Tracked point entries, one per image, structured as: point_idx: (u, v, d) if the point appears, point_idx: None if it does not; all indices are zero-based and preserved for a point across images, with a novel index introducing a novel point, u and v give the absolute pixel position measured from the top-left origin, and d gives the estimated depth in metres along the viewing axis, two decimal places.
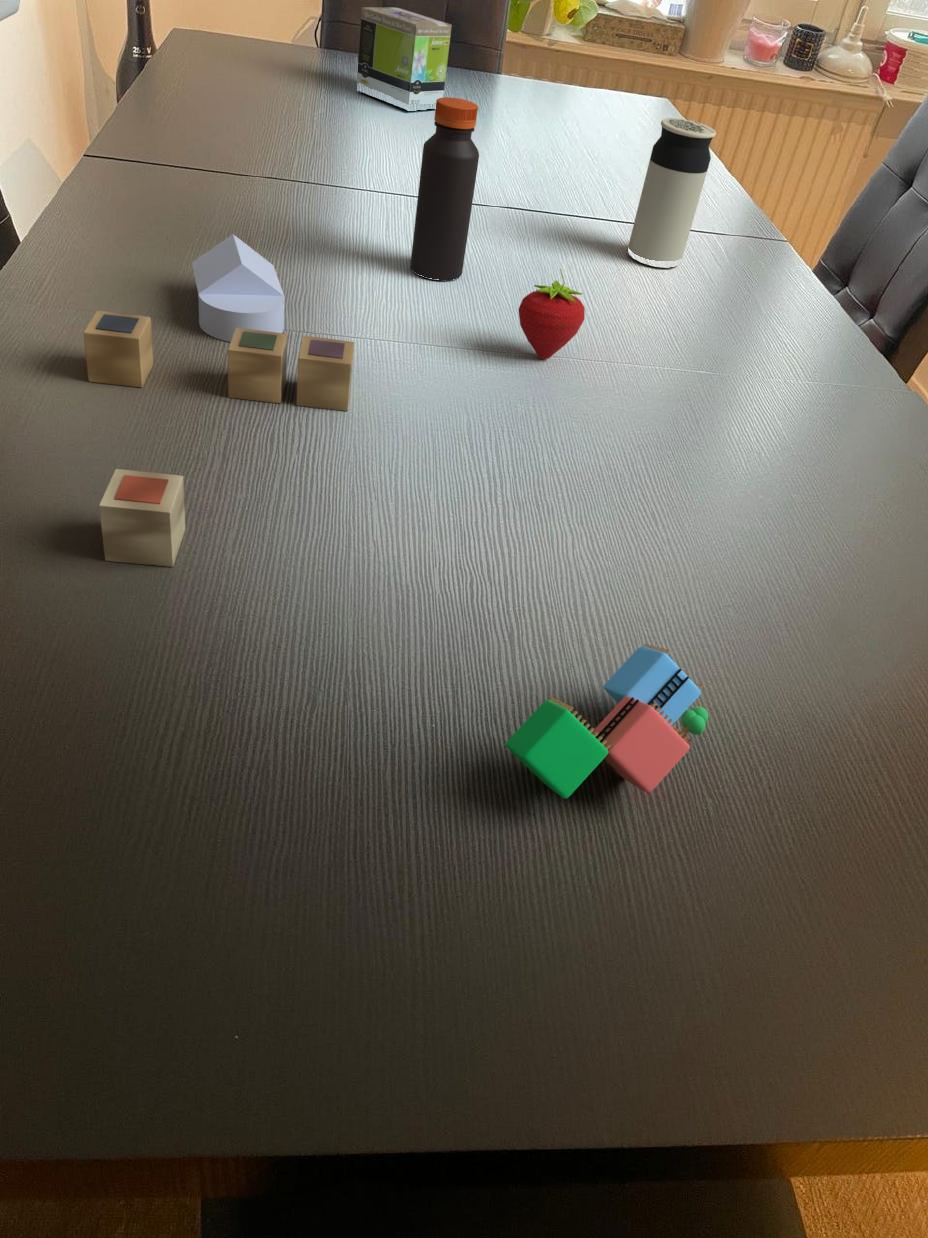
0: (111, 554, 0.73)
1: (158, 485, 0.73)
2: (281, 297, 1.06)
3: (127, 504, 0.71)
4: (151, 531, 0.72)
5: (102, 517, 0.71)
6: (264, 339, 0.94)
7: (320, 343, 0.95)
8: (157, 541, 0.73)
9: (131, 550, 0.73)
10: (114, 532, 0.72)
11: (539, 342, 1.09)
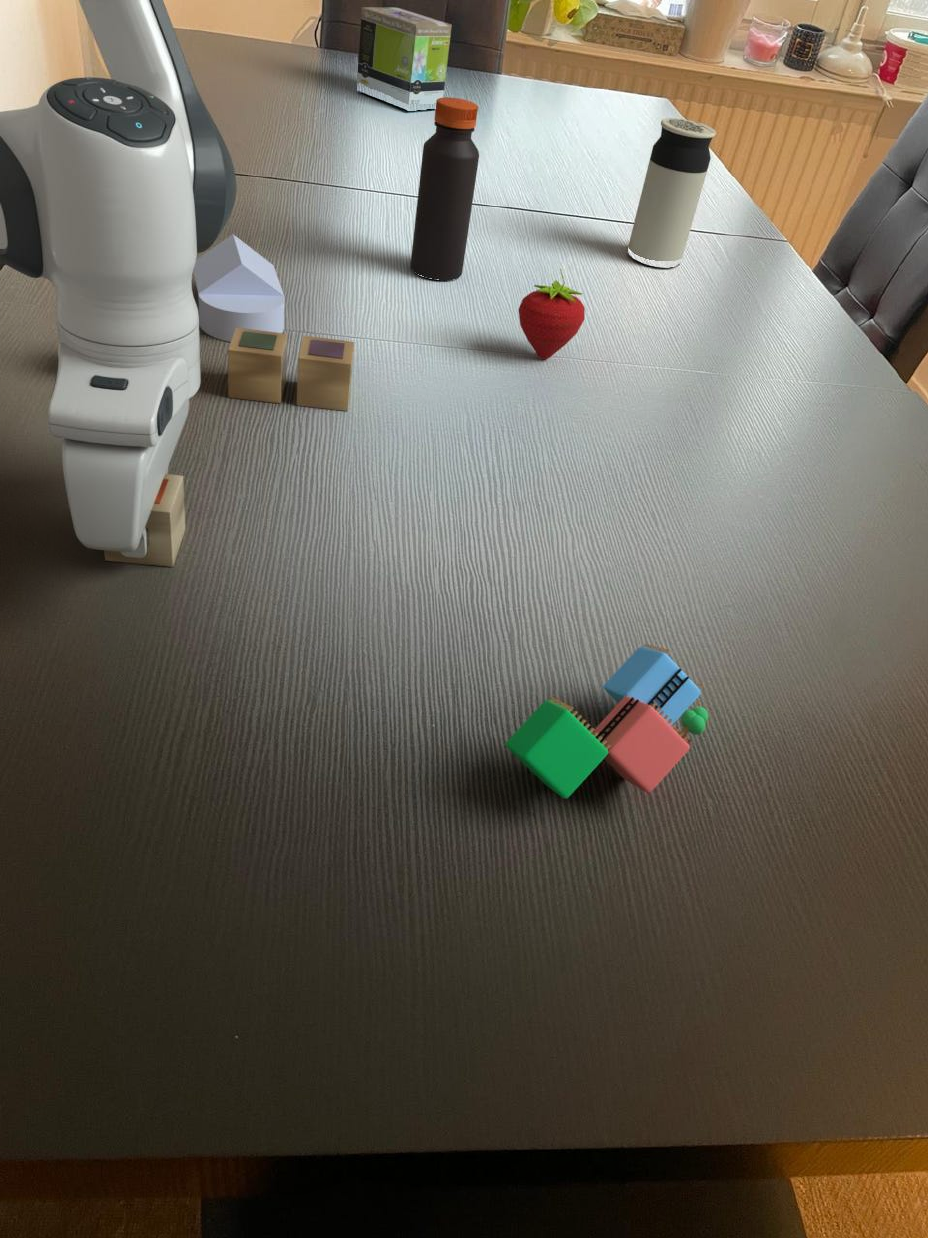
0: (111, 554, 0.73)
1: None
2: (281, 297, 1.06)
3: None
4: (151, 531, 0.72)
5: None
6: (264, 339, 0.94)
7: (320, 343, 0.95)
8: (157, 541, 0.73)
9: None
10: None
11: (539, 342, 1.09)
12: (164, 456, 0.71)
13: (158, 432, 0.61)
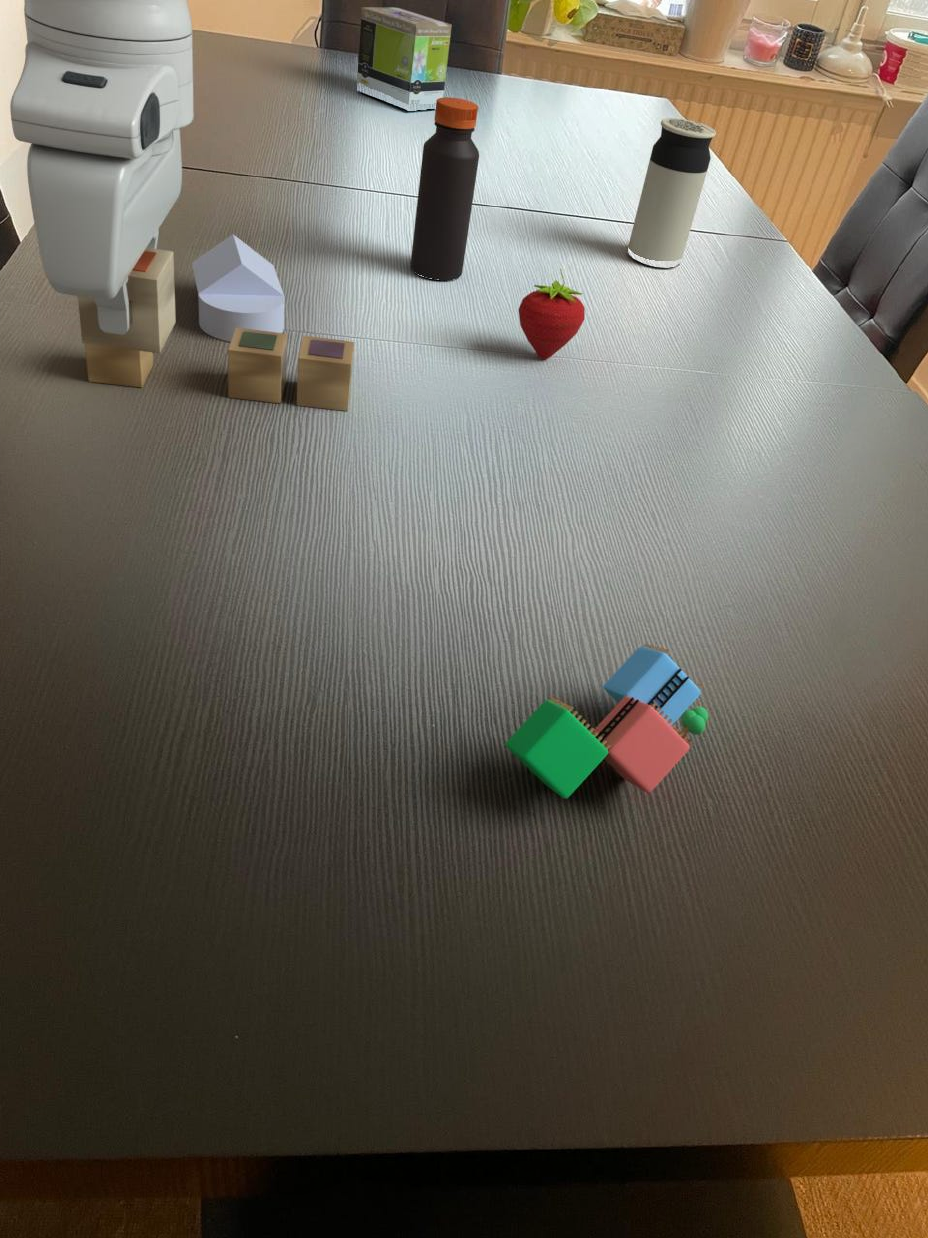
0: (89, 335, 0.64)
1: (144, 256, 0.64)
2: (281, 297, 1.06)
3: None
4: (135, 304, 0.63)
5: None
6: (264, 339, 0.94)
7: (320, 343, 0.95)
8: (142, 318, 0.63)
9: None
10: (93, 304, 0.63)
11: (539, 342, 1.09)
12: (151, 213, 0.61)
13: (141, 142, 0.52)
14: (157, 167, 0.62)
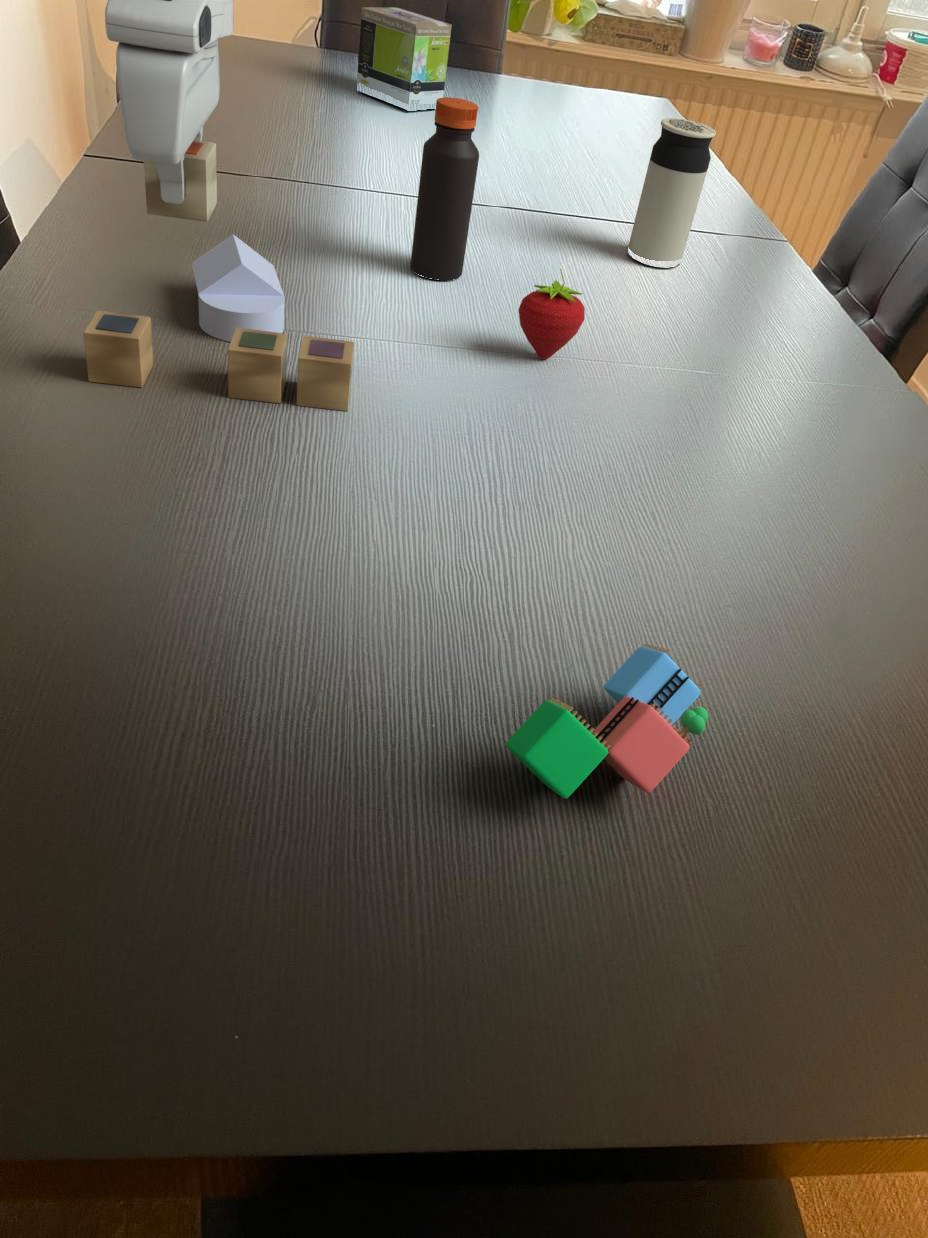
0: (152, 206, 0.82)
1: (194, 144, 0.82)
2: (281, 297, 1.06)
3: None
4: (189, 180, 0.81)
5: (145, 164, 0.80)
6: (264, 339, 0.94)
7: (320, 343, 0.95)
8: (193, 192, 0.82)
9: None
10: (156, 181, 0.81)
11: (539, 342, 1.09)
12: (200, 108, 0.80)
13: (199, 41, 0.70)
14: (203, 73, 0.80)
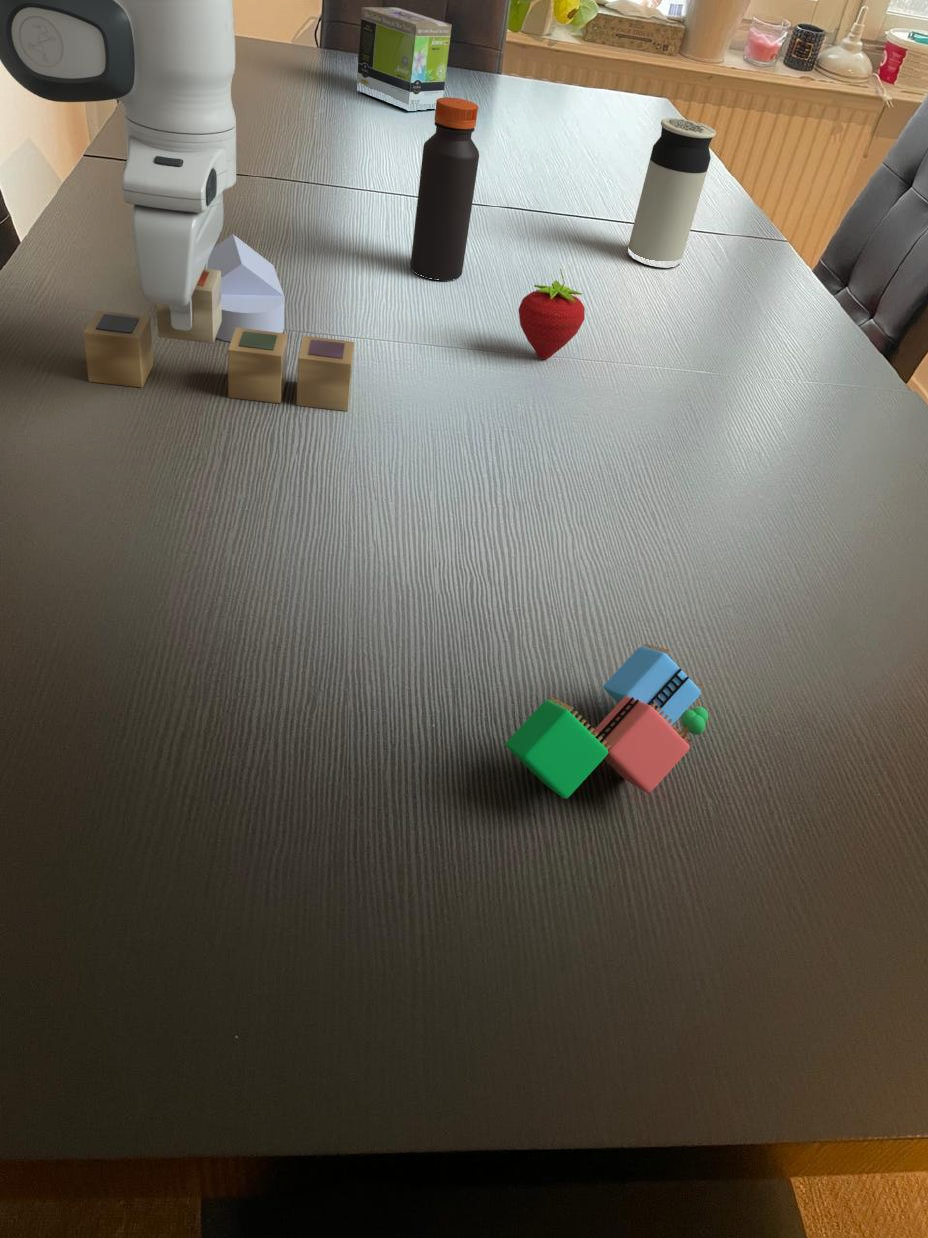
0: (163, 331, 0.90)
1: (201, 274, 0.90)
2: (281, 297, 1.06)
3: None
4: (196, 308, 0.89)
5: None
6: (264, 339, 0.94)
7: (320, 343, 0.95)
8: (200, 319, 0.90)
9: None
10: (166, 309, 0.89)
11: (539, 342, 1.09)
12: (206, 245, 0.88)
13: (206, 201, 0.78)
14: (209, 212, 0.88)
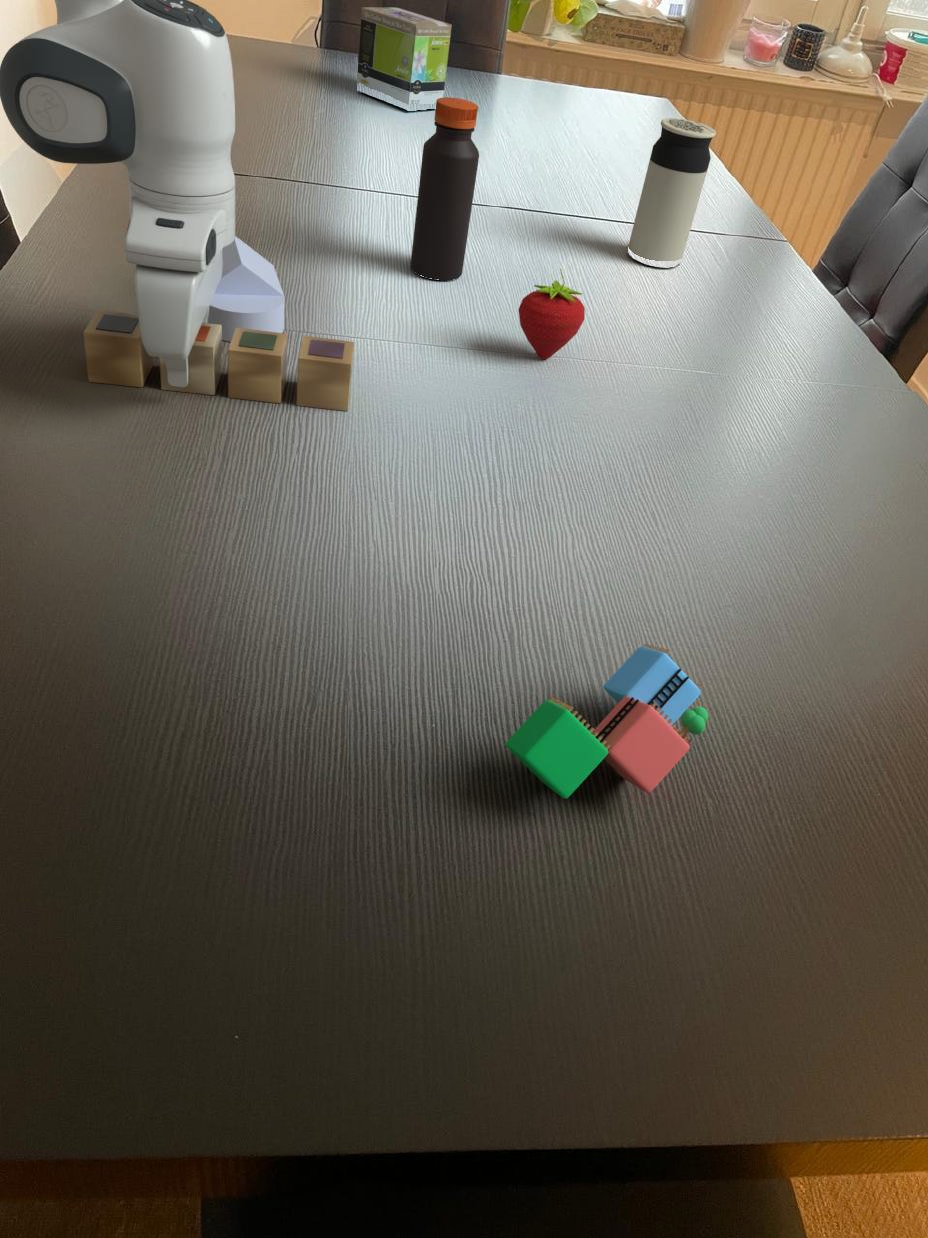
0: (166, 384, 0.94)
1: (203, 329, 0.94)
2: (281, 297, 1.06)
3: None
4: (198, 363, 0.93)
5: None
6: (264, 339, 0.94)
7: (320, 343, 0.95)
8: (202, 372, 0.93)
9: None
10: None
11: (539, 342, 1.09)
12: (206, 297, 0.91)
13: (206, 261, 0.81)
14: (209, 265, 0.91)
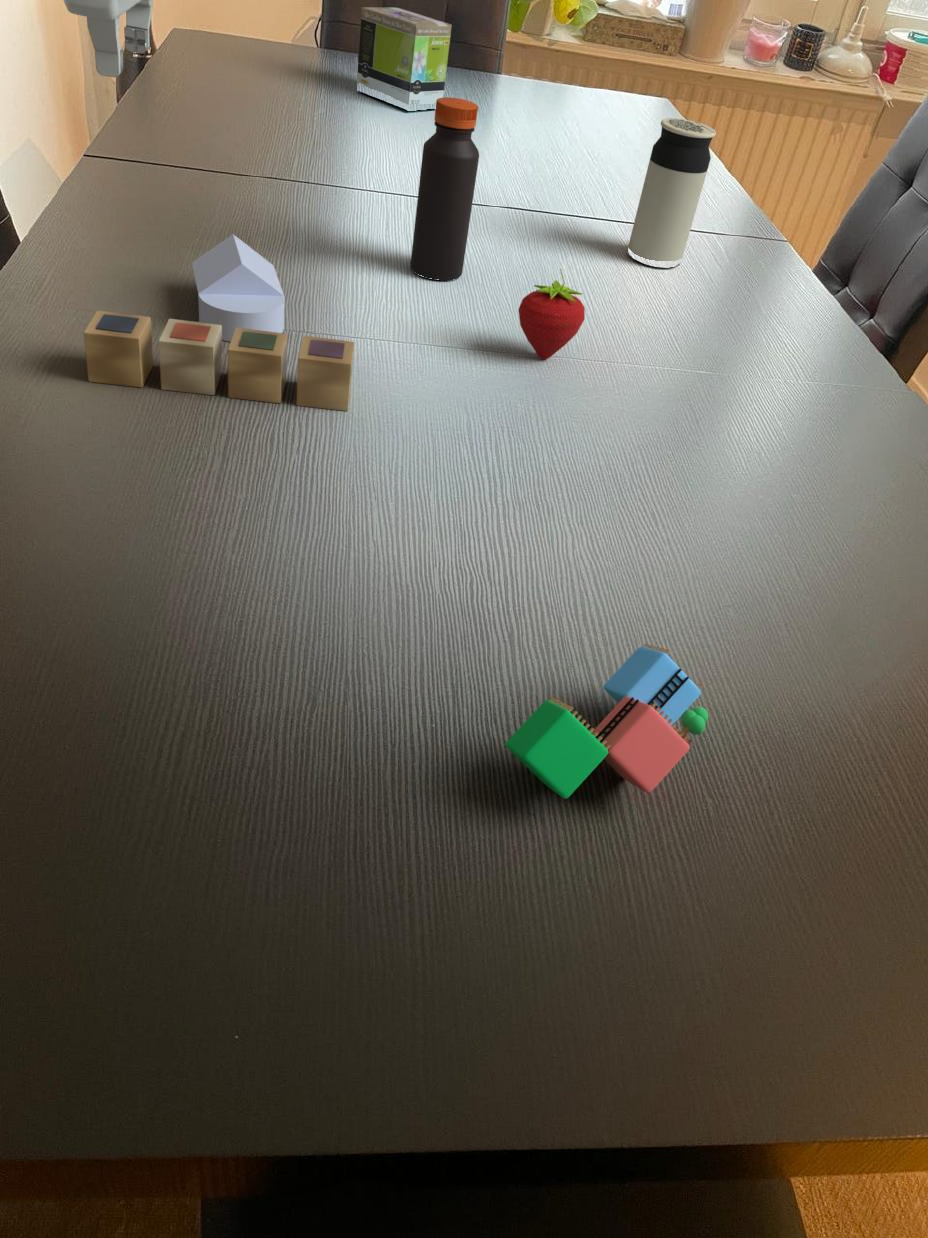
0: (166, 384, 0.94)
1: (203, 329, 0.94)
2: (281, 297, 1.06)
3: (180, 340, 0.92)
4: (198, 363, 0.93)
5: (160, 351, 0.92)
6: (264, 339, 0.94)
7: (320, 343, 0.95)
8: (202, 372, 0.93)
9: (182, 380, 0.94)
10: (169, 364, 0.92)
11: (539, 342, 1.09)
12: None
13: None
14: None
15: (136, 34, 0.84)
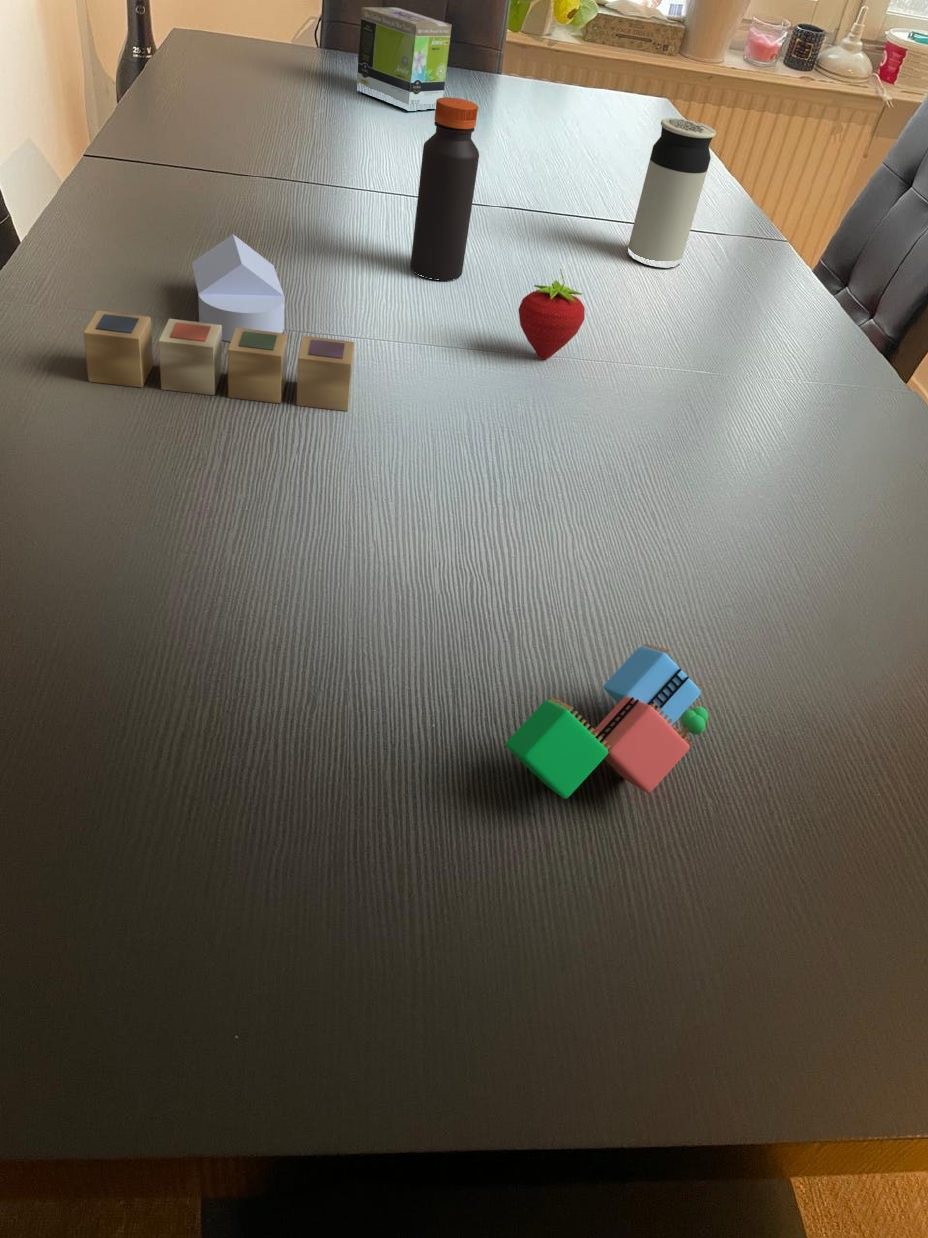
0: (166, 384, 0.94)
1: (203, 329, 0.94)
2: (281, 297, 1.06)
3: (180, 340, 0.92)
4: (198, 363, 0.93)
5: (160, 351, 0.92)
6: (264, 339, 0.94)
7: (320, 343, 0.95)
8: (202, 372, 0.93)
9: (182, 380, 0.94)
10: (169, 364, 0.92)
11: (539, 342, 1.09)
12: None
13: None
14: None
15: None
